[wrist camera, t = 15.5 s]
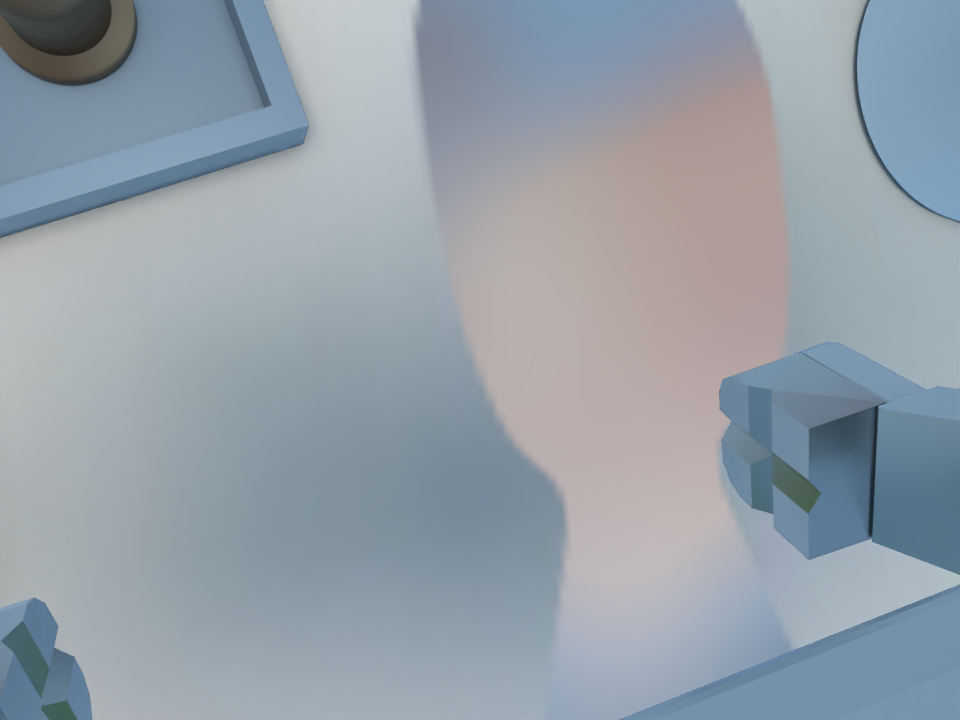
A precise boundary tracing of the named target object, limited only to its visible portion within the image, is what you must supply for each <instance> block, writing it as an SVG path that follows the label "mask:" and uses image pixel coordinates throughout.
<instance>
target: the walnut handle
mask: <svg viewBox="0 0 960 720" xmlns="http://www.w3.org/2000/svg"><path fill="white" fill-rule="evenodd" d="M136 34H137V16H136V10H135V7H134V4H133V1H132V0H0V47H1V48H2V49H3V50H4V51H5V52H6V54H7V55H8V56H9V57H10V58H11V59H12V60H13V61H14V62H15V63H16V64H17V65H18V66H19V67H21V68H22V69H23V70H25V71H26V72H28V73H29V74H31V75H33V76H35V77H37V78H39V79H41V80H44V81H47V82H50V83H53V84H59V85H66V86H78V85H86V84H91V83H94V82H97V81H100V80H102V79H104V78H106V77H108V76H109V75H111V74H112V73H114V72H115V71H116V70H117V69H119V68H120V67H121V66H122V64H123V63H124V62H125V61H126V60H127V58H128V56H129V55H130V53H131V51H132V49H133V46H134V43H135V39H136Z"/></svg>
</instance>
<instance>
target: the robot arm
mask: <svg viewBox="0 0 960 720" xmlns="http://www.w3.org/2000/svg"><path fill="white" fill-rule="evenodd" d="M857 79H858V90H859V97H860V103H861V108H862V112H863V116H864V120H865V123H866V126H867V129H868V132H869V135H870V137H871V140H872V142H873V144H874V146H875V149H876V150H877V152H878V154H879V156H880V158H881V160H882V161H883V163H884V164H885V166H886V168H887V169H888V170H889V172H890V173H891V175H892V176H893V177H894V178H895V180H896V181H897V182H898V183H899V184H900V185H901V186H902V187H903V188H904V190H905V191H907V192H908V193H909V194H910V195H911V196H912V197H913V198H914V199H916V200H917V201H918V202H920V203H921V204H923V205H924V206H926V207H927V208H929V209H931V210H933V211H934V212H936V213H938V214H941V215H943V216H945V217H948V218H951V219H954V220H957V221H960V0H870V1H869V4H868V6H867V9H866V12H865V15H864V19H863V23H862V27H861V32H860V37H859V45H858V56H857ZM719 398H720V410H721V411H722V412H723V413H724V414H725V415H726V416H727V417H728V418H729V419H730V420H731V423H730V425H729V427H728V429H727V430H726V432H725V434H724V436H723V438H722V440H721V441H722V452H723V463H724V465H725V468H726V471H727V473H728V476H729V479H730V482H731V484H732V485H733V487H734V488H735V490H736V491H737V493H738V494H739V496H740V497H741V498H742V499H743V500H744V501H745V502H746V503H747V504H748V505H750V506H751V507H752V508H754V509H758V510H761V511H765V512H768V513H772V514H774V529H775V530H776V531H777V532H779V533H780V534H781V535H782V536H783V537H784V538H785V539H786V540H787V541H788V542H790V543H791V544H792V545H793V546H794V547H795V548H796V549H797V550H798V551H799V552H800V553H802V554H803V555H804V556H805V557H806V558H807V559H808V560H810V559H813V558H816V557H819V556H822V555H825V554H828V553H831V552H834V551H836V550H839V549H842V548H845V547H848V546H851V545H854V544H857V543H860V542H863V541H866V540H869V539H871V538H872V542H874V543H877V544H880V545H882V546H885V547H888V548H890V549H893V550H896V551H898V552H901V553H903V554H906V555H909V556H911V557H914V558H917V559H919V560H922V561H925V562H927V563H930V564H933V565H935V566H938V567H941V568H943V569H946V570H948V571H951V572H954V573H956V574H959V575H960V389H953V388H946V387H938V386H937V387H934V388H931V389H928V390H926V389H924V388H922V387H920V386H918V385H917V384H915V383H913V382H911V381H909V380H907V379H905V378H904V377H902V376H900V375H898V374H896V373H894V372H892V371H891V370H889V369H887V368H885V367H883V366H881V365H879V364H877V363H876V362H874V361H872V360H870V359H868V358H866V357H864V356H863V355H861V354H859V353H857V352H855V351H853V350H851V349H850V348H848V347H846V346H844V345H842V344H840V343H833V342H826V343H823V344H821V345H818V346H815V347H812V348H810V349H807V350H804V351H801V352H799V353H796V354H793V355H792V356H789V357H786V358H783V359H780V360H777V361H774V362H771V363H768V364H765V365H763V366H760V367H757V368H754V369H751V370H748V371H745V372H743V373H739V374H737V375H734V376H731V377H728V378H725V379H723V380H722V383H721V387H720V391H719ZM57 630H58V625H57V623H56V621H55V620H54V618H53V616H52V614H51V613H50V611H49V609H48V607H47V606H46V604H45V603H44V602H42V601H40V600H38V599H36V598H31V599H28V600H25V601H21V602H18V603H15V604H11V605H8V606H5V607H1V608H0V720H92V712H91V702H90V694H89V691H88V688H87V685H86V682H85V679H84V675H83V673H82V671H81V669H80V667H79V665H78V663H77V661H76V659H75V657H73V656H71V655H69V654H67V653H65V652H62V651H60V650H58V649H56V648H54V645H55V640H56V635H57ZM620 720H960V585H957V586H955V587H952V588H950V589H947V590H945V591H942V592H940V593H937V594H935V595H932V596H930V597H927V598H925V599H922V600H920V601H917V602H914V603H912V604H909V605H907V606H904V607H902V608H899V609H897V610H894V611H892V612H889V613H887V614H884V615H882V616H879V617H877V618H874V619H872V620H869V621H867V622H864V623H862V624H859V625H856V626H854V627H851V628H849V629H846V630H844V631H841V632H839V633H836V634H834V635H831V636H829V637H826V638H824V639H821V640H819V641H816V642H814V643H811V644H809V645H806V646H804V647H801V648H798V649H796V650H793V651H791V652H788V653H786V654H783V655H781V656H779V657H776V658H773V659H771V660H768V661H766V662H763V663H761V664H758V665H756V666H753V667H751V668H748V669H746V670H743V671H741V672H738V673H735V674H733V675H730V676H728V677H725V678H723V679H720V680H718V681H715V682H713V683H710V684H708V685H705V686H703V687H700V688H698V689H695V690H693V691H690V692H688V693H685V694H682V695H680V696H678V697H675V698H672V699H670V700H667V701H665V702H662V703H660V704H657V705H655V706H652V707H650V708H647V709H645V710H642V711H640V712H637V713H635V714H632V715H630V716H627V717H625V718H622V719H620Z"/></svg>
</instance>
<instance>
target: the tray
mask: <svg viewBox="0 0 960 720" xmlns="http://www.w3.org/2000/svg"><path fill="white" fill-rule="evenodd" d="M132 1H133V4H134V7H135V10H136V16H137V34H136V39H135V43H134V46H133V49H132V51H131V53H130V55H129V56H128V58H127V60H126V61H125V62H124V63H123V64H122V66H121V67H120V68H119V69H117V70H116V71H115V72H114V73H112V74H111V75H109V76H108V77H106V78H104V79H102V80H100V81H97V82H94V83H91V84H86V85H78V86H66V85H59V84H53V83H50V82H47V81H44V80H41V79H39V78H37V77H35V76H33V75H31V74H29V73H28V72H26V71H25V70H23V69H22V68H21V67H19V66H18V65H17V64H16V63H15V62H14V61H13V60H12V59H11V58H10V57H9V56H8V55H7V54H6V52H5V51H4V50H3V49H2V48H1V47H0V238H1V237H4V236H8V235H11V234H14V233H17V232H21V231H24V230H27V229H30V228H33V227H37V226H40V225H43V224H46V223H49V222H53V221H56V220H59V219H62V218H66V217H69V216H72V215H75V214H78V213H82V212H85V211H88V210H91V209H95V208H98V207H101V206H104V205H107V204H111V203H114V202H117V201H120V200H124V199H127V198H130V197H133V196H136V195H140V194H143V193H146V192H149V191H153V190H156V189H159V188H162V187H165V186H169V185H172V184H175V183H178V182H182V181H185V180H188V179H191V178H194V177H198V176H201V175H204V174H207V173H211V172H214V171H217V170H220V169H223V168H227V167H230V166H233V165H236V164H240V163H243V162H246V161H249V160H252V159H256V158H259V157H262V156H265V155H269V154H272V153H275V152H278V151H281V150H285V149H288V148H291V147H294V146H298V145H301V144H303V141H304V138H305V135H306V132H307V129H308V126H309V124H308V121H307V118H306V116H305V113H304V110H303V108H302V105H301V102H300V99H299V97H298V94H297V91H296V89H295V86H294V83H293V80H292V78H291V75H290V72H289V70H288V67H287V64H286V61H285V59H284V56H283V53H282V51H281V48H280V45H279V42H278V40H277V37H276V34H275V32H274V29H273V26H272V23H271V21H270V18H269V15H268V13H267V10H266V7H265V4H264V2H263V0H132Z"/></svg>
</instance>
